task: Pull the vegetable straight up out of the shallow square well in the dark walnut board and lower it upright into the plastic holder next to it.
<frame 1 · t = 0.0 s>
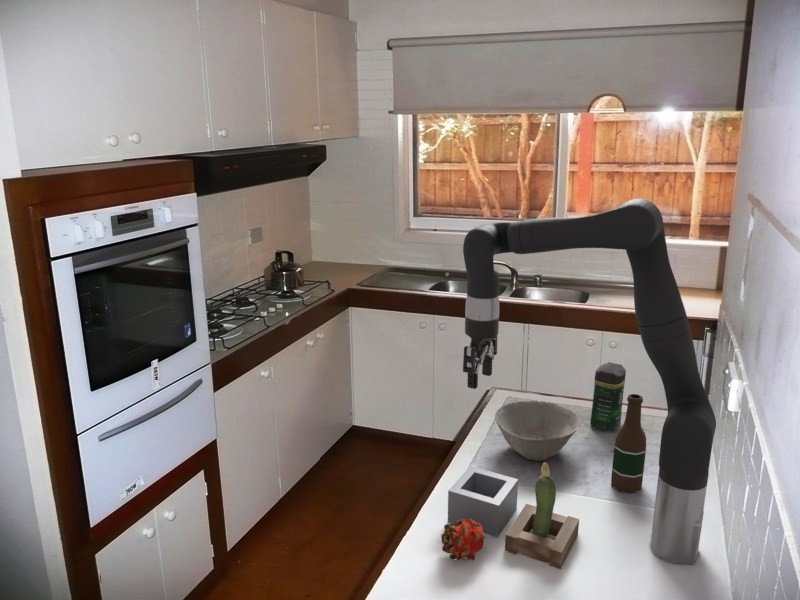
hand: (479, 381, 156), 29 cm above the counter, tool pointing down, fingers open, 8 cm apart
dragon fruit: (463, 553, 143), on the counter
holder: (482, 515, 155), on the counter
beer bottle: (626, 486, 167), on the counter
ceramic bowl: (534, 452, 183), on the counter
vegetable: (541, 543, 146), on the counter
coffee jar: (605, 426, 198), on the counter
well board: (541, 542, 146), on the counter
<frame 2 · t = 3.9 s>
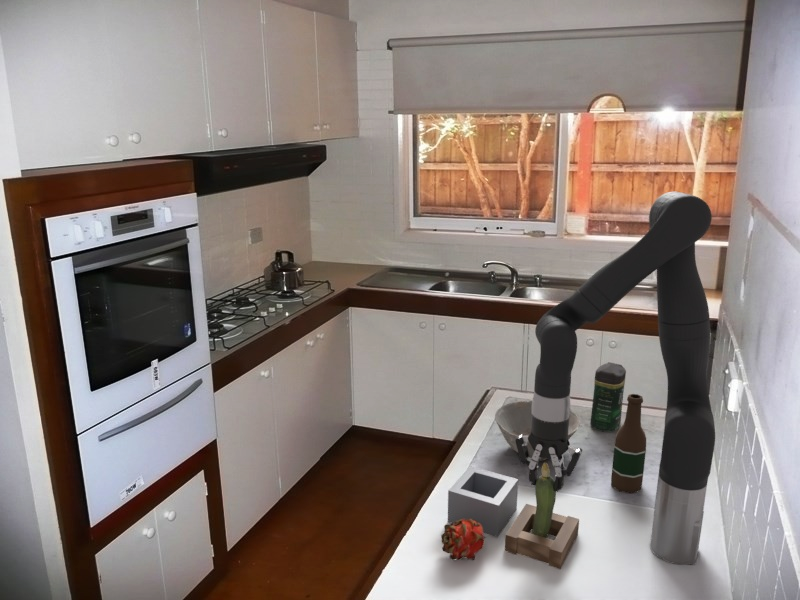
hand: (545, 486, 142), 14 cm above the counter, tool pointing down, fingers closed on vegetable, 4 cm apart
vegetable: (541, 543, 146), on the counter, touching gripper
everything else where it was.
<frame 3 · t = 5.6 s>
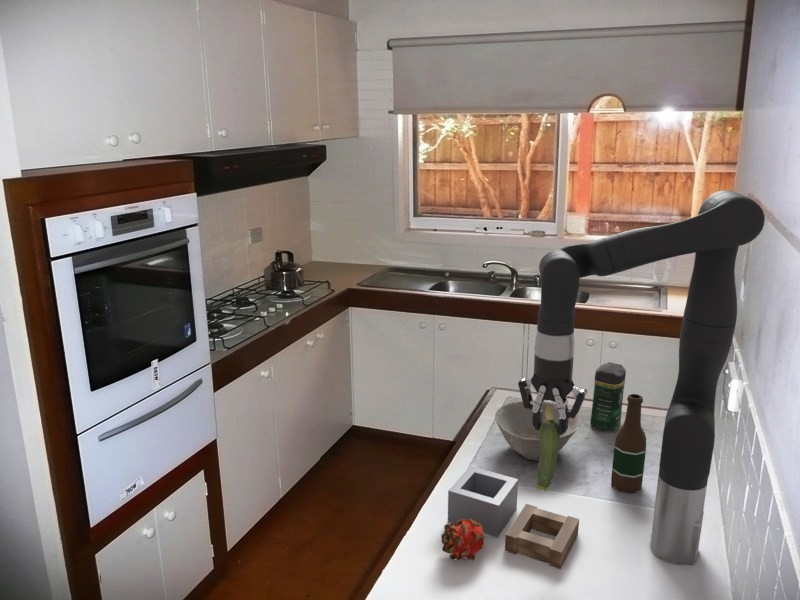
hand: (549, 430, 138), 27 cm above the counter, tool pointing down, fingers closed on vegetable, 4 cm apart
vegetable: (546, 491, 142), point 13 cm above the counter, touching gripper
everything else where it was.
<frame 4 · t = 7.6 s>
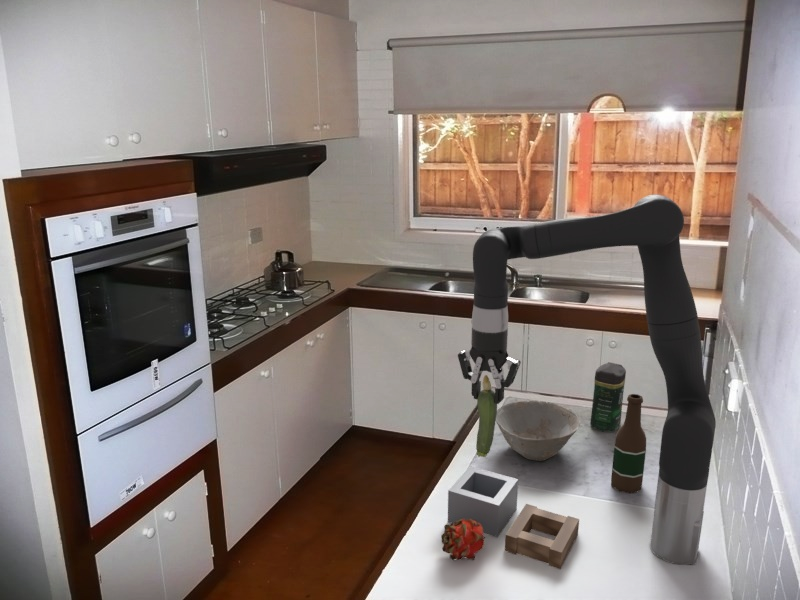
hand: (487, 399, 147), 29 cm above the counter, tool pointing down, fingers closed on vegetable, 4 cm apart
vegetable: (485, 457, 151), point 15 cm above the counter, touching gripper
everything else where it was.
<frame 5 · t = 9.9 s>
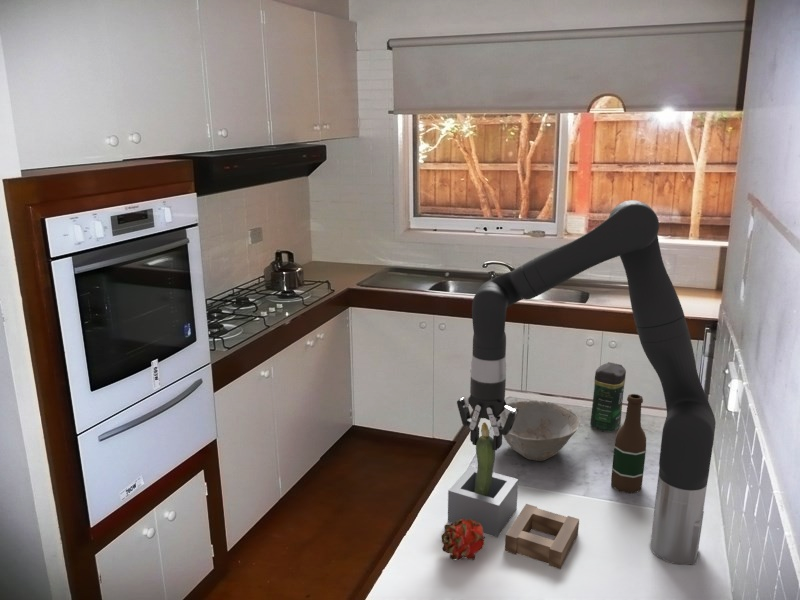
hand: (485, 445, 150), 18 cm above the counter, tool pointing down, fingers closed on vegetable, 4 cm apart
vegetable: (483, 501, 154), point 4 cm above the counter, touching gripper
everything else where it was.
when the fingers open (15 cm above the counter, at t = 11.5 s): vegetable drops 1 cm, on the counter.
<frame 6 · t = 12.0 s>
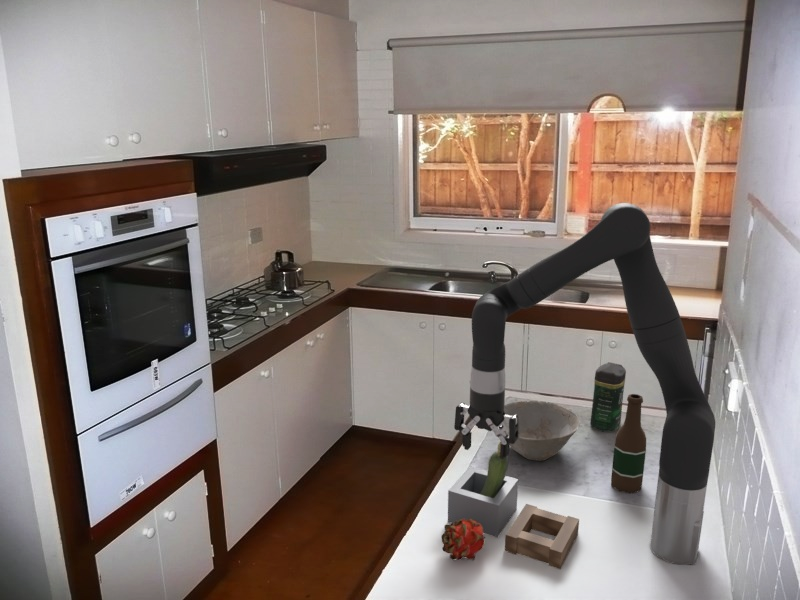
hand: (485, 452, 151), 16 cm above the counter, tool pointing down, fingers open, 8 cm apart
vegetable: (483, 516, 155), on the counter, touching gripper
everything else where it was.
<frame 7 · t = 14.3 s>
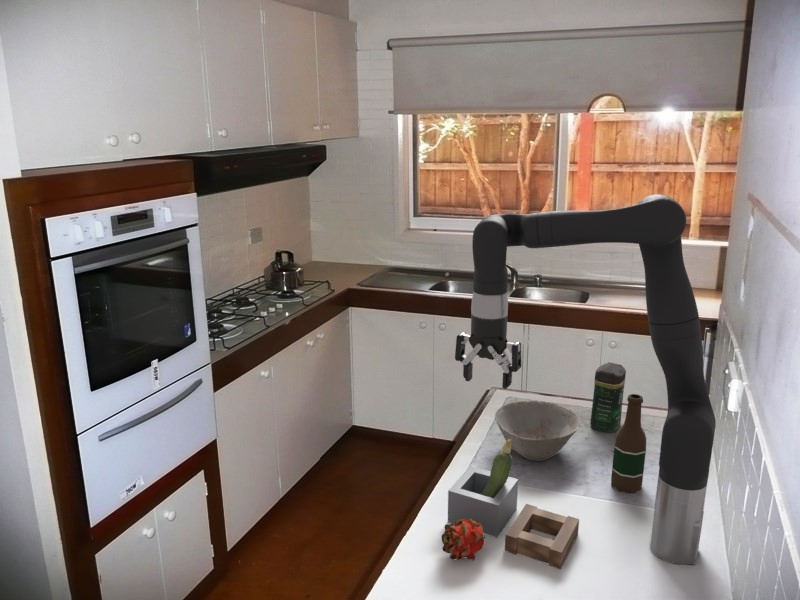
hand: (486, 383, 146), 33 cm above the counter, tool pointing down, fingers open, 8 cm apart
vegetable: (483, 516, 155), on the counter, touching holder
everything else where it was.
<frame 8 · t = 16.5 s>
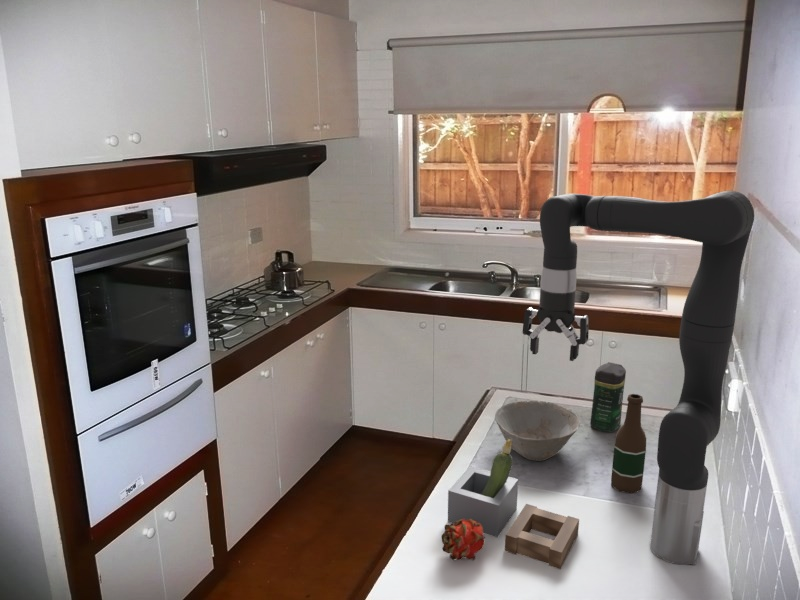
hand: (553, 356, 152), 36 cm above the counter, tool pointing down, fingers open, 8 cm apart
nothing on the counter moved.
at the end: vegetable 0.2 cm off-centre on the holder, point 0.0 cm above the holder's base; vegetable tilted 17°; the gripper is holding nothing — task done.
